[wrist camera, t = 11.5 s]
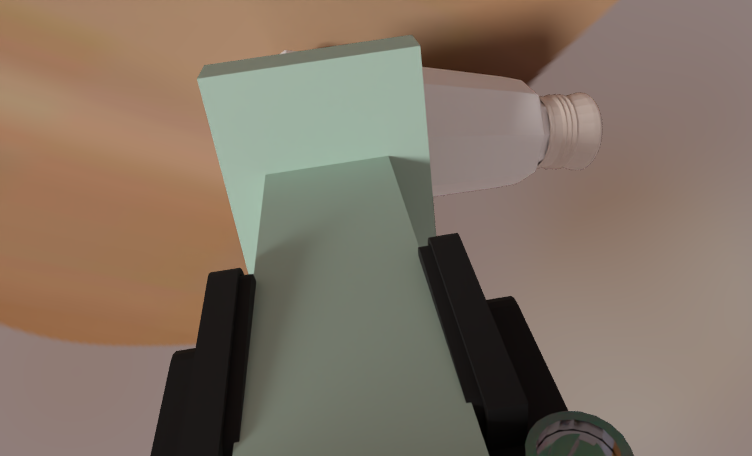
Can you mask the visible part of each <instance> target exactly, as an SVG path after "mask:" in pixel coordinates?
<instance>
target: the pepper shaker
mask: <svg viewBox="0 0 752 456" xmlns="http://www.w3.org/2000/svg"><path fill="white" fill-rule="evenodd" d="M291 52H298V51H289V50H285V51H283V52H282V53H280V54H284V53H291ZM422 72H423V84H424V96H425V108H426V120H427V132H428V144H429V156H430V168H431V180H432V192H433V197H435V196H442V195H449V194H456V193H463V192H470V191H476V190H484V189H491V188H498V187H503V186H507V185H513V184H517V183H519V182H521V181H522V180H523V179H525V178H527V177H528V176H530V175H531V174H533V173H534V172H535V171H536V168H540V167H542V168H544V169H561V168H566V169H569V170H582V169H584V168H586V167H587V166H588V165H589V164H590V163H591V162H592V161H593V160H594V159H595V157H596V155H597V153H598V151H599V148H600V145H601V138H602V119H601V114H600V111H599V108H598V106H597V104H596V103H595V101H594V100H593V99H592V98H591V97H590V96H589V95H587V94H585V93H574V94H570V95H567V96H564V95H560V94H559V95H555V94H554V95H546V96H544V97H542V96H539V95H538V94H537V93H536V92H534V91H533V90H532V89H531V88H530V87H529V86H528V85H526V84H525V83H524V82H523V81H522V80H518V79H513V78H507V77H502V76H494V75H486V74H477V73H469V72H461V71H453V70H445V69H437V68H428V67H422Z"/></svg>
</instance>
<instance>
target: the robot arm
mask: <svg viewBox="0 0 752 456" xmlns="http://www.w3.org/2000/svg"><path fill="white" fill-rule="evenodd" d="M418 257H419V260H420V263H421V266H422V269H423V272H424V275H425V278H426V281H427V284H428V287H429V290H430V293H431V296H432V300H433V303H434V306H435V309H436V312H437V315H438V318H439V321H440V324H441V327H442V330H443V333H444V336H445V339H446V343H447V346H448V349H449V352H450V355H451V358H452V361H453V364H454V367H455V370H456V373H457V376H458V379H459V382H460V386H461V389H462V392H463V395H464V398H465V401H466V403H472V406H473V409H474V412H475V415H476V418H477V421H478V424H479V427H480V430H481V433H482V436H483V439H484V442H485V445H486V448H487V451H488V454H489V456H634V454H633V452H632V450H631V448H630V446H629V444H628V443H627V442H626V440H625V438H624V436H623V435H622V434H621V433H620V432H619V431H618V430H616V429H615V428H614V427H613V426H612V425H611V424H609V423H608V422H606V421H604V420H602V419H600V418H599V417H597V416H594V415H591V414H587V413H583V412H578V411H568V409H567V407H566V405H565V403H564V401H563V399H562V397H561V394H560V392H559V390H558V388H557V386H556V384H555V382H554V380H553V378H552V376H551V373H550V371H549V369H548V367H547V365H546V363H545V361H544V359H543V356H542V354H541V352H540V350H539V348H538V346H537V344H536V342H535V340H534V337H533V335H532V333H531V331H530V329H529V327H528V325H527V323H526V321H525V318H524V316H523V314H522V312H521V310H520V308H519V306H518V304H517V302H516V301H515V299H514V298H513V297H512V296H508V297H502V298H496V299H490V300H486V299H485V297H484V294H483V292H482V289H481V287H480V285H479V282H478V280H477V277H476V275H475V272H474V270H473V268H472V265H471V263H470V260H469V258H468V256H467V253H466V251H465V248H464V246H463V243H462V241H461V239H460V236H459V234H458V233H454V234H448V235H442V236H435V237H429V238H428V246H422V247H418ZM255 290H256V279H255V276H254V274H248V275H244V274H243V271H242V269H241V268H236V269H230V270H223V271H217V272H211V273H209V275H208V280H207V285H206V291H205V297H204V303H203V309H202V314H201V320H200V326H199V332H198V338H197V343H196V348H193V349H187V350H181V351H176V352H175V353H174V354H173V356H172V359H171V363H170V367H169V372H168V377H167V381H166V386H165V391H164V395H163V400H162V405H161V409H160V414H159V419H158V424H157V428H156V433H155V437H154V442H153V447H152V451H151V456H232V455H233V447H234V443H236V442H239V440H240V431H241V421H242V412H243V402H244V393H245V384H246V374H247V365H248V356H249V346H250V337H251V328H252V318H253V309H254V300H255Z"/></svg>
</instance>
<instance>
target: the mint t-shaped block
mask: <svg viewBox="0 0 752 456" xmlns="http://www.w3.org/2000/svg"><path fill="white" fill-rule="evenodd" d="M197 80H198V84H199V88H200V92H201V95H202V99H203V103H204V107H205V111H206V114H207V118H208V122H209V126H210V130H211V133H212V137H213V141H214V145H215V149H216V152H217V156H218V160H219V164H220V168H221V171H222V175H223V179H224V183H225V186H226V190H227V194H228V198H229V202H230V205H231V209H232V213H233V217H234V221H235V224H236V228H237V232H238V236H239V240H240V243H241V247H242V251H243V255H244V258H245V262H246V266H247V270H248V274H254V276H255V279H256V290H255V300H254V309H253V318H252V328H251V337H250V346H249V356H248V365H247V374H246V384H245V393H244V402H243V412H242V421H241V431H240V440H239V442H236V443H234V447H233V455H232V456H489V454H488V451H487V448H486V445H485V442H484V439H483V436H482V433H481V430H480V427H479V424H478V421H477V418H476V415H475V412H474V409H473V406H472V403H466V401H465V398H464V395H463V392H462V389H461V386H460V382H459V379H458V376H457V373H456V370H455V367H454V364H453V361H452V358H451V355H450V352H449V349H448V346H447V343H446V339H445V336H444V333H443V330H442V327H441V324H440V321H439V318H438V315H437V312H436V309H435V306H434V303H433V300H432V296H431V293H430V290H429V287H428V284H427V281H426V278H425V275H424V272H423V269H422V266H421V263H420V260H419V257H418V247H422V246H428V238H429V237H435V236H436V229H435V216H434V205H433V192H432V180H431V168H430V156H429V144H428V132H427V120H426V108H425V96H424V84H423V72H422V60H421V48H420V45H419V43H418V42H417V41H416V40H415V38H414V37H413V36H412V35H407V36H400V37H393V38H387V39H380V40H373V41H366V42H359V43H352V44H346V45H339V46H332V47H325V48H318V49H312V50H305V51H298V52H291V53H284V54H278V55H271V56H264V57H257V58H250V59H244V60H237V61H230V62H223V63H216V64H210V65H204V67H203V69H202V71H201V72H200V74H199V76H198V78H197Z"/></svg>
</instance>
